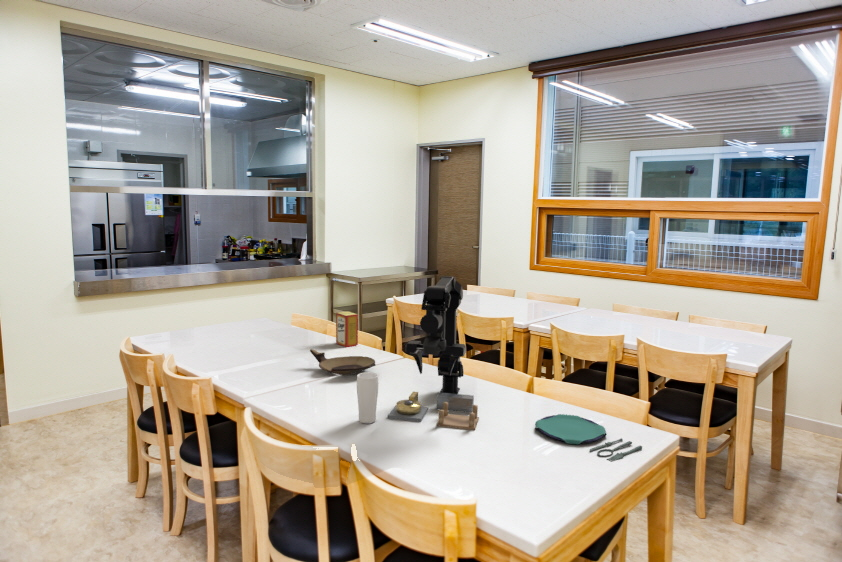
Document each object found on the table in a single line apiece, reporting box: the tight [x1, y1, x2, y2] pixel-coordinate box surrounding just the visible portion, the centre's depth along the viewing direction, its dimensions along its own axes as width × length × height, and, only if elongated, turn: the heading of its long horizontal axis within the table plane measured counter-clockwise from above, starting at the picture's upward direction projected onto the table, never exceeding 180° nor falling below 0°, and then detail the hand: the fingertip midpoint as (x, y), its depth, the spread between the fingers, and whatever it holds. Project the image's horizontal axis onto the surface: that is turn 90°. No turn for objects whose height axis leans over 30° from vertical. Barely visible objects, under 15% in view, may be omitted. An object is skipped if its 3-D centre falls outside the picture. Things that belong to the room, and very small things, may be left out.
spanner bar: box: [436, 391, 475, 414], centre depth 187 cm, size 12×4×5 cm, turn 77°
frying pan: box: [309, 348, 376, 376], centre depth 229 cm, size 22×30×8 cm
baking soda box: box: [335, 310, 359, 348], centre depth 273 cm, size 10×6×16 cm
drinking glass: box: [356, 371, 379, 425], centre depth 175 cm, size 7×7×15 cm
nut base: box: [387, 404, 430, 423], centre depth 183 cm, size 11×11×1 cm
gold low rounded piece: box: [396, 391, 422, 415], centre depth 185 cm, size 14×8×3 cm, turn 167°
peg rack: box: [436, 402, 480, 431], centre depth 176 cm, size 9×12×5 cm
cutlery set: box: [534, 413, 643, 462], centre depth 166 cm, size 20×30×2 cm, turn 34°
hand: (435, 374), depth 177 cm, fingers open, 9 cm apart
